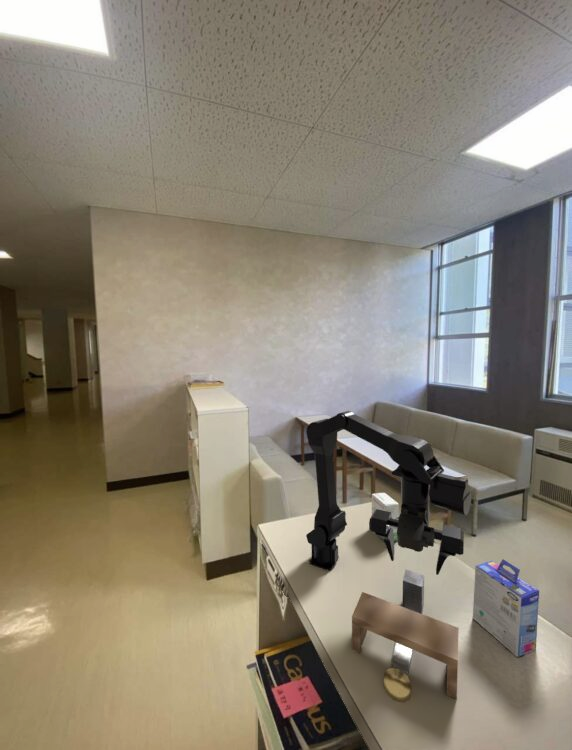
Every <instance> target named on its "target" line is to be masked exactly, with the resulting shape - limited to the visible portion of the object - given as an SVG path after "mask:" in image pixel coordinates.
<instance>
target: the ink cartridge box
mask: <svg viewBox="0 0 572 750" xmlns="http://www.w3.org/2000/svg"><path fill="white" fill-rule="evenodd" d="M504 566H505V567H509V569H511V570H512V571H513V572H514V573H512V572H510V571H509V570H508V569H506V568H504ZM474 567H475V569H474V573H475V574H474V589H473V591H474V592H473V605H472V606H473V608H472V609H473V610H472V618H473V620H474V621H476V622H477V623H478V624H479V625H480V626H481V627H482V628H483V629H485V630H486V631H487V632H488V633H489V634H490V635H491V636H493V637H494V638H495V639H496V640H497V641H499V643H500V644H502V645H503V647H505V648H506V649H508V650H509V651H510V652H511V653H512V654H513V655H514V656H515V657H522V656H524V655H527V654H529V653H532V652H535V651H537V637H538V636H537V635H538V619H539V618H538V617H539V616H538V615H539V602H540V601H539V600H540V599H539V598H540V590H539V589H538V588H537V587H534V586H533V585H531V584H530V583H528V582H526V581H525V580H523V579H521V578H520V577H519V575H520V571H521V569H519V568H518V567H516V566H515V565H513V564H512V563H510V562H509V561H507V560H506V559H504V558H502V559H501V560H500V563H499V564H498V563H497V562H495V561H493V560H489V561H487V562H483V563H480V564H477V565H475V566H474Z"/></svg>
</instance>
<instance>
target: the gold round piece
mask: <svg viewBox="0 0 572 750" xmlns="http://www.w3.org/2000/svg"><path fill="white" fill-rule="evenodd" d="M383 689H384V690H385V693H386V694H387V696H389V698H391V699H392V700H393V701H396V702H399V703H403V702H404V703H405V702H407V701H408V700H409V699H410V698H411V694H412V692H411V691H412V684H411V681H410V678H409V676H408V675H407V673H406V672H405V671H403V670H400V669H398V668H396V667H391V668H388V669H387V670H385V672H384V674H383Z"/></svg>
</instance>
